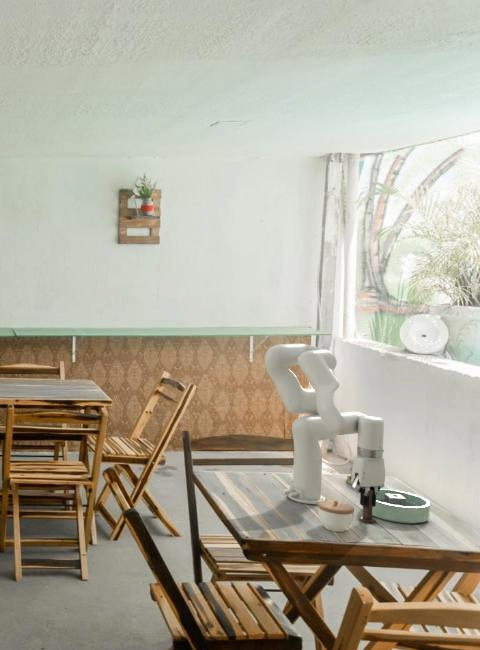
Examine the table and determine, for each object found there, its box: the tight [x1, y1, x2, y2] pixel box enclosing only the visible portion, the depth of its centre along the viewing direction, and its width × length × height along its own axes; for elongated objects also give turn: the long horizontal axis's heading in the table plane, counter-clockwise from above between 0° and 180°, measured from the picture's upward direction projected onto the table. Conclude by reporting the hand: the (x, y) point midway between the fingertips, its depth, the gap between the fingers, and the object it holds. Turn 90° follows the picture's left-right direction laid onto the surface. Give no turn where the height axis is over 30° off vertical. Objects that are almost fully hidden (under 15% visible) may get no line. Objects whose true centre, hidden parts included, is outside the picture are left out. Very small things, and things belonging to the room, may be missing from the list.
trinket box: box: [317, 499, 355, 533], centre depth 223 cm, size 11×11×9 cm
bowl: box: [372, 488, 431, 524], centre depth 237 cm, size 20×20×6 cm
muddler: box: [359, 489, 376, 524], centre depth 230 cm, size 4×4×11 cm
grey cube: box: [384, 493, 406, 507], centre depth 239 cm, size 5×5×5 cm
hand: (367, 505), depth 230 cm, fingers closed on muddler, 2 cm apart
